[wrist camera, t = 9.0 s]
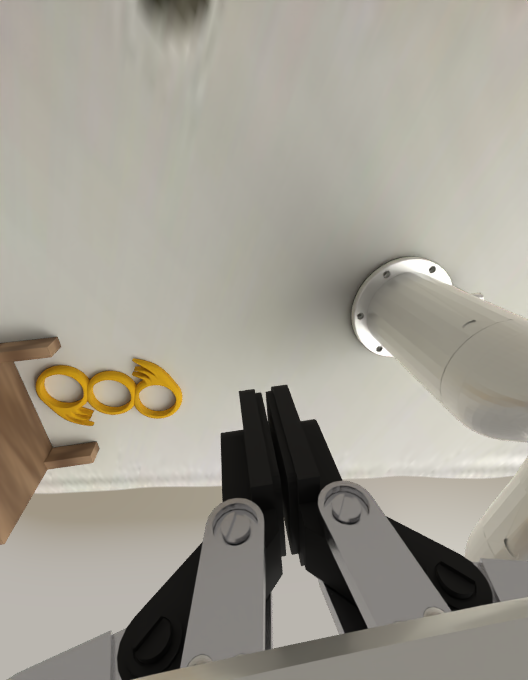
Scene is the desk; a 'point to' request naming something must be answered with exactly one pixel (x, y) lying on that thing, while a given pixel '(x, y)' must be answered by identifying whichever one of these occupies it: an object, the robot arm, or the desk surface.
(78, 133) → the desk surface
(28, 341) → the display stand
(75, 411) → the yellow triple ring ornament
